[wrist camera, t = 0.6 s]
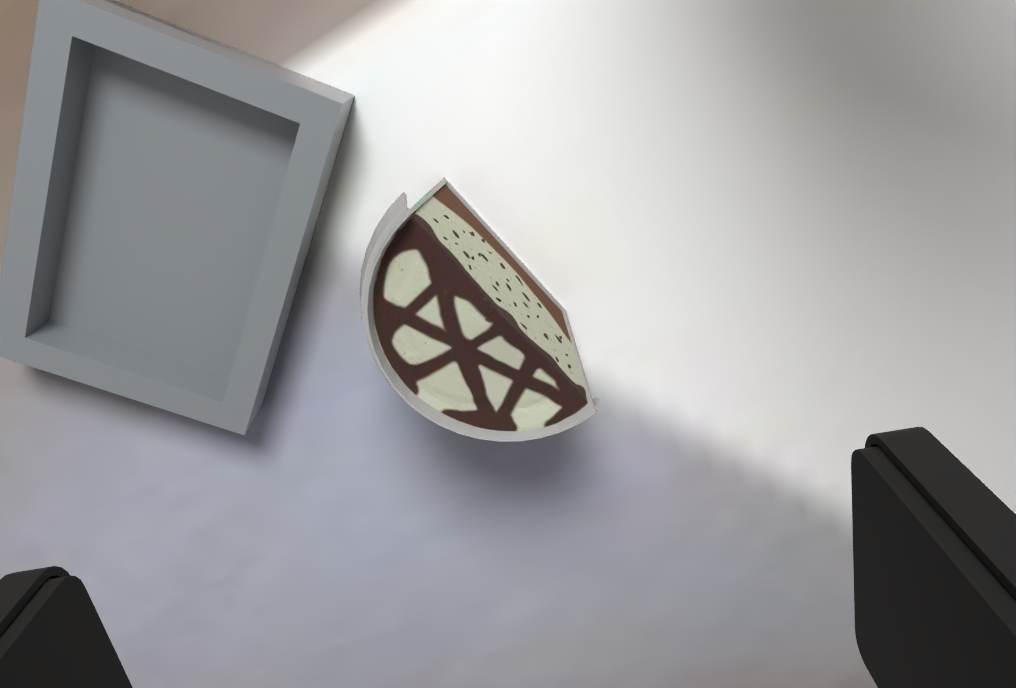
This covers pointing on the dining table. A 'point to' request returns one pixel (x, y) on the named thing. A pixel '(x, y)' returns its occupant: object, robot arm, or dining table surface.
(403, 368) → the food container
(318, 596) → the dining table surface
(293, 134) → the tray
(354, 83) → the dining table surface
